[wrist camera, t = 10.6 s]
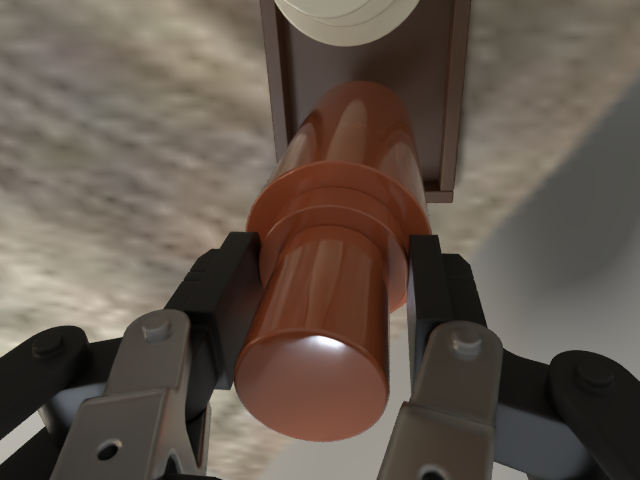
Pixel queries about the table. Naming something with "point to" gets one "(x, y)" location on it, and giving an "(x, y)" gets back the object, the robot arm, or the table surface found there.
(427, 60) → the tray
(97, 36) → the table surface
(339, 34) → the cream bottle
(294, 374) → the terracotta bottle
